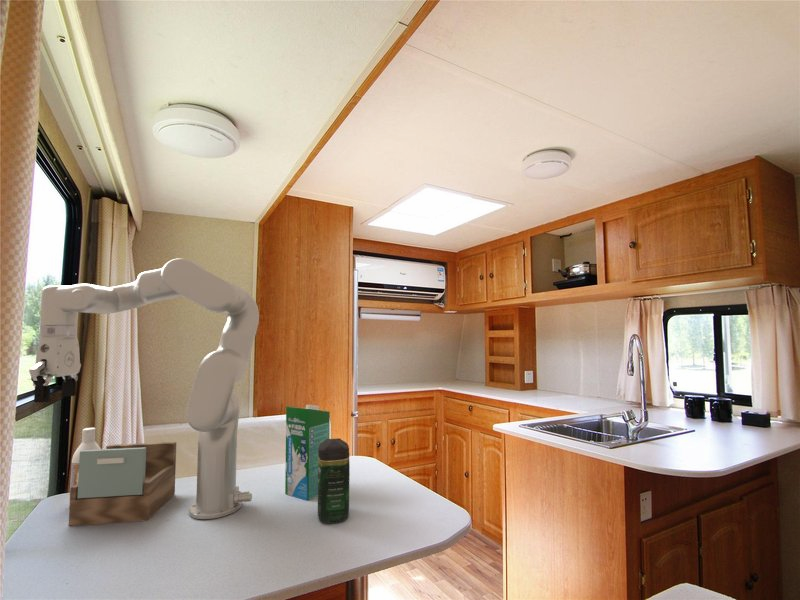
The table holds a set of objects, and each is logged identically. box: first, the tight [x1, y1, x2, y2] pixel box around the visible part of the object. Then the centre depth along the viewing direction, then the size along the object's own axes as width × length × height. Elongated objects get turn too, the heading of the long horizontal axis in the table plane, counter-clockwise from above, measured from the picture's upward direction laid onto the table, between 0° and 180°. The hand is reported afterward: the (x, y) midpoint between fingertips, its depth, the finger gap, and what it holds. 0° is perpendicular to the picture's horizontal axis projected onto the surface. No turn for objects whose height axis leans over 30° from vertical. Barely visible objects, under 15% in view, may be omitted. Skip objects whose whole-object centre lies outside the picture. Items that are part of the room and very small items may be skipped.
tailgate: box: [77, 447, 146, 498], centre depth 101 cm, size 15×2×11 cm, turn 98°
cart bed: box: [68, 441, 177, 526], centre depth 108 cm, size 18×16×15 cm
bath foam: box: [69, 427, 102, 504], centre depth 113 cm, size 7×7×20 cm
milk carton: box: [284, 404, 331, 501], centre depth 119 cm, size 9×9×25 cm
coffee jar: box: [317, 438, 351, 524], centre depth 103 cm, size 10×8×19 cm
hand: (56, 398), depth 104 cm, fingers open, 9 cm apart
